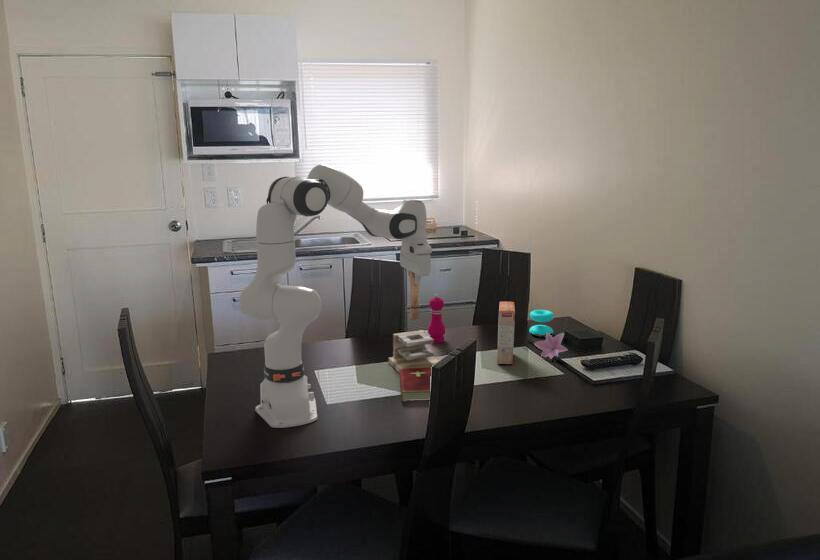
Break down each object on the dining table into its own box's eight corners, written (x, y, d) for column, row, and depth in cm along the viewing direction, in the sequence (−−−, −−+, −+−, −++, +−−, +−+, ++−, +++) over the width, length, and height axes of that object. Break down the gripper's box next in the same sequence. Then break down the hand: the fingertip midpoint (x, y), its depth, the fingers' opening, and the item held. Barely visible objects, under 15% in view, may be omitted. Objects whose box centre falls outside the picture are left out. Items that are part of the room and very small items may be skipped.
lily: (531, 356, 243) (528, 339, 237) (555, 341, 246) (553, 324, 240) (551, 374, 235) (549, 357, 228) (575, 358, 238) (574, 341, 232)
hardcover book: (401, 403, 200) (401, 391, 199) (399, 378, 221) (399, 367, 220) (438, 402, 201) (438, 389, 200) (433, 377, 221) (433, 366, 220)
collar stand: (443, 368, 228) (443, 340, 226) (401, 375, 222) (401, 345, 220) (427, 356, 241) (427, 329, 238) (388, 362, 235) (387, 334, 232)
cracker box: (513, 366, 230) (515, 311, 226) (497, 365, 231) (498, 310, 226) (513, 353, 244) (515, 301, 239) (497, 352, 245) (499, 300, 240)
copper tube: (420, 319, 227) (420, 270, 223) (412, 320, 225) (411, 271, 221) (417, 316, 230) (416, 268, 226) (408, 317, 228) (408, 269, 224)
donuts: (544, 316, 257) (524, 311, 264) (543, 340, 259) (524, 334, 267) (559, 312, 263) (539, 307, 271) (558, 335, 265) (539, 329, 273)
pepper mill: (426, 343, 257) (426, 295, 252) (429, 337, 263) (429, 291, 259) (443, 344, 255) (443, 296, 250) (446, 338, 262) (447, 292, 257)
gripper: (395, 241, 230) (395, 278, 233) (416, 250, 211) (417, 290, 214) (411, 240, 232) (411, 276, 235) (433, 249, 213) (434, 288, 217)
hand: (414, 283), depth 225 cm, fingers closed on copper tube, 3 cm apart
